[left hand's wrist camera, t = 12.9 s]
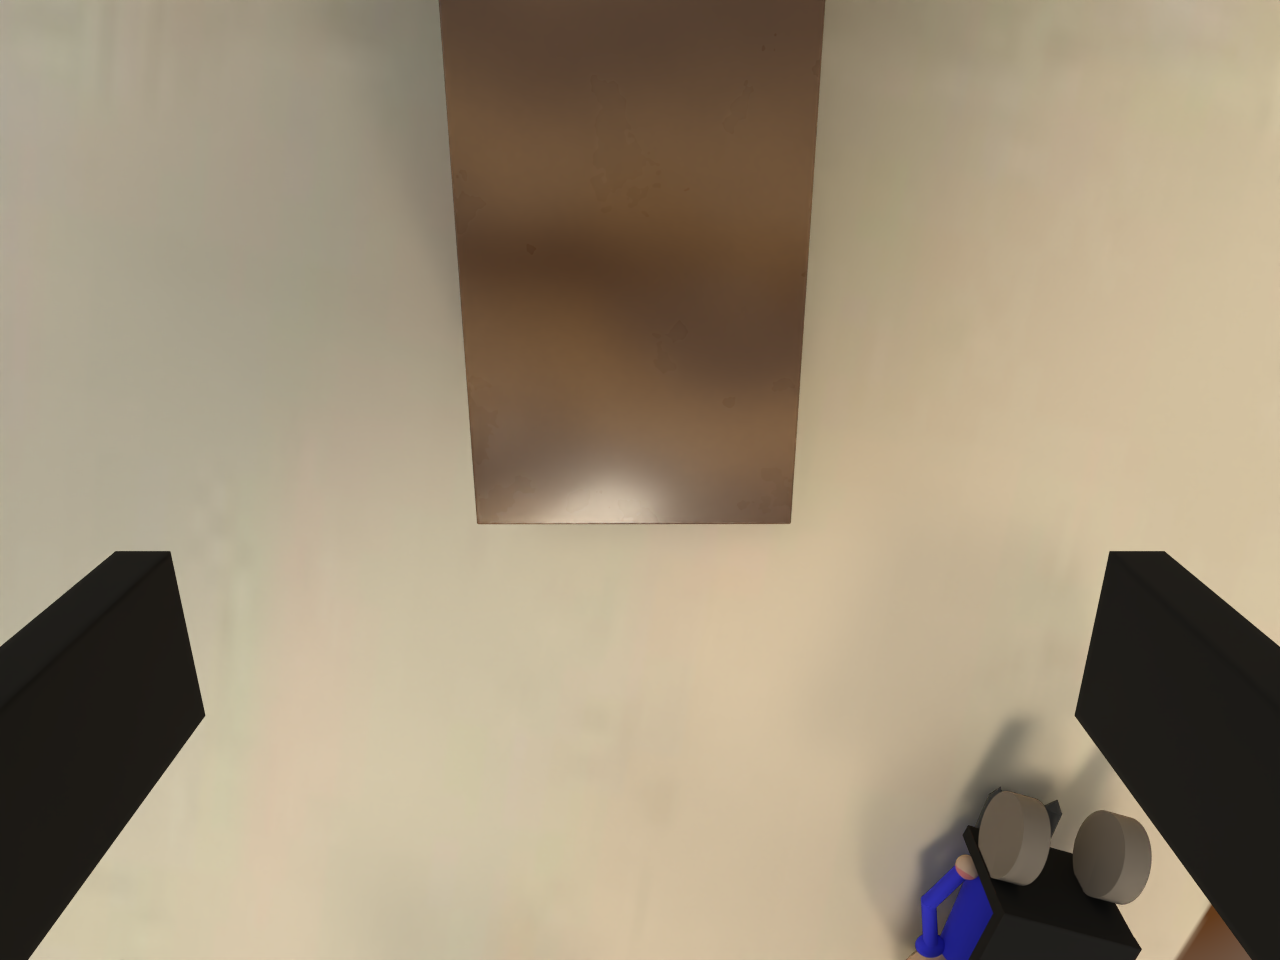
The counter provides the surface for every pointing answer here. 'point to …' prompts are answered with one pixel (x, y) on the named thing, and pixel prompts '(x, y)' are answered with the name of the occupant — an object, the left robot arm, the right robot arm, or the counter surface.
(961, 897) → the figurine character
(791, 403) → the wide beam
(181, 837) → the counter surface
